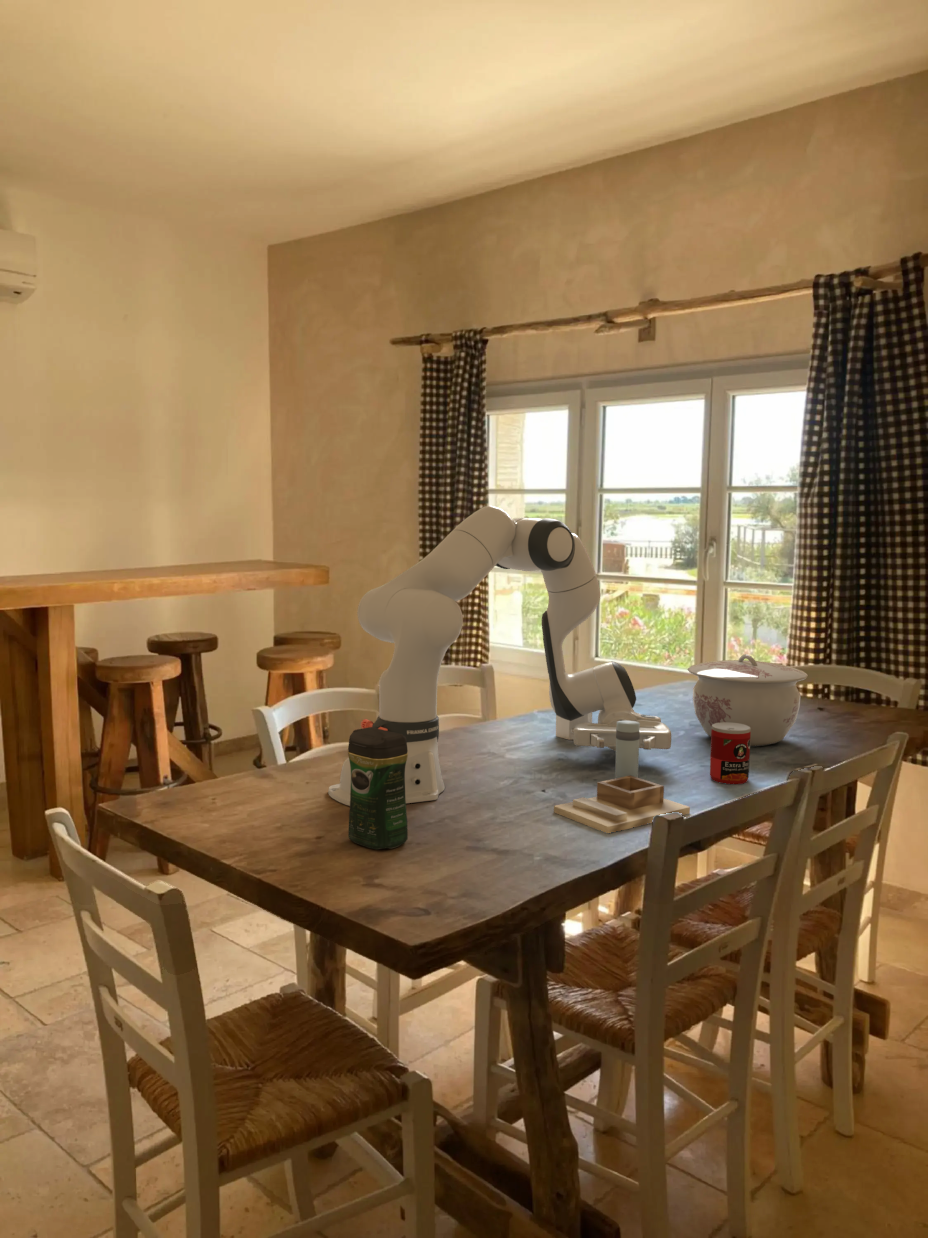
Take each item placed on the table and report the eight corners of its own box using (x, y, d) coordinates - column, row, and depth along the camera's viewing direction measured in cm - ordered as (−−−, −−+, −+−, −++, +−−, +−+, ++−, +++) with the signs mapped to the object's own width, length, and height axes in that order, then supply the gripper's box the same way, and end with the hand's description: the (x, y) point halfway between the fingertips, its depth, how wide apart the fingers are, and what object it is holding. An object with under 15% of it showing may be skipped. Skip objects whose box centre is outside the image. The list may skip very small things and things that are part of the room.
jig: (608, 834, 162) (608, 809, 162) (553, 812, 174) (554, 789, 173) (689, 813, 174) (690, 790, 173) (633, 794, 185) (634, 773, 185)
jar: (599, 737, 232) (600, 688, 231) (575, 742, 227) (576, 691, 226) (572, 730, 239) (573, 682, 238) (548, 735, 234) (549, 686, 233)
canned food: (722, 786, 192) (724, 731, 190) (702, 775, 199) (704, 723, 198) (756, 783, 194) (758, 729, 192) (735, 773, 201) (737, 721, 200)
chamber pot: (781, 760, 212) (785, 667, 210) (665, 741, 228) (668, 655, 226) (821, 737, 234) (825, 653, 232) (713, 722, 251) (716, 642, 248)
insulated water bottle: (626, 792, 186) (628, 726, 185) (609, 787, 190) (611, 722, 189) (642, 789, 189) (644, 723, 188) (626, 783, 193) (628, 719, 191)
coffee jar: (416, 843, 157) (416, 730, 155) (378, 855, 151) (378, 738, 149) (377, 829, 164) (377, 721, 161) (340, 840, 158) (339, 728, 156)
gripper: (572, 714, 210) (572, 727, 197) (667, 717, 208) (675, 731, 195) (571, 742, 211) (571, 758, 197) (666, 746, 209) (673, 762, 195)
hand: (623, 744), depth 196 cm, fingers open, 8 cm apart
